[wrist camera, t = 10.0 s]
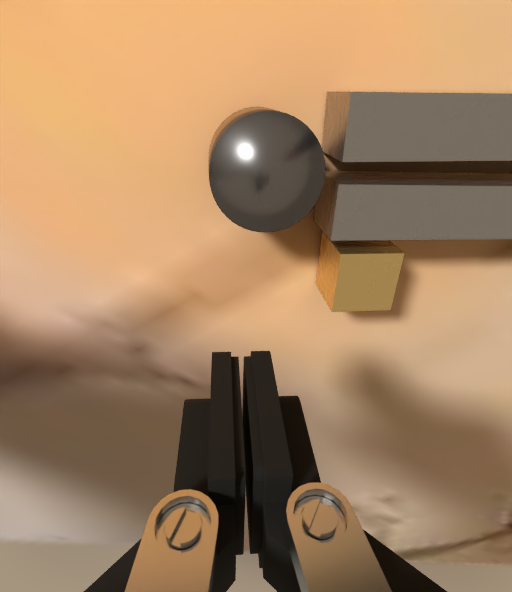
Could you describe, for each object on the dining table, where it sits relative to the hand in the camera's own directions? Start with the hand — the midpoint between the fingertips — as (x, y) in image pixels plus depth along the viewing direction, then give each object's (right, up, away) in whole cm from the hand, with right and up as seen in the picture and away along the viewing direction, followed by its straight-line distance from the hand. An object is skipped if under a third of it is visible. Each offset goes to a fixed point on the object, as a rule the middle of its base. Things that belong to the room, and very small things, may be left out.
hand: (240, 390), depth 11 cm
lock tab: (+5, +5, +9) cm, 11 cm away
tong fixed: (+10, +8, +8) cm, 15 cm away
